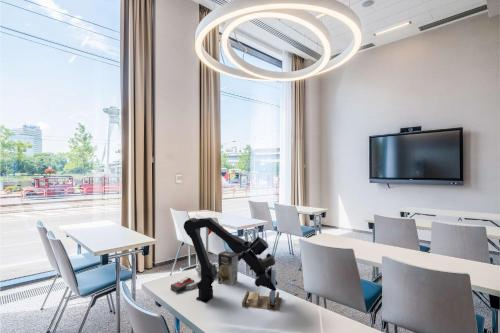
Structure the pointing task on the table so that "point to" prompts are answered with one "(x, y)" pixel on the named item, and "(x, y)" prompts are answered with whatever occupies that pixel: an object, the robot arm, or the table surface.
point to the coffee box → (227, 267)
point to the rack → (264, 302)
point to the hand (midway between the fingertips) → (276, 287)
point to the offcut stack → (252, 299)
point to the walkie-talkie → (183, 285)
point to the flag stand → (198, 267)
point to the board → (273, 280)
